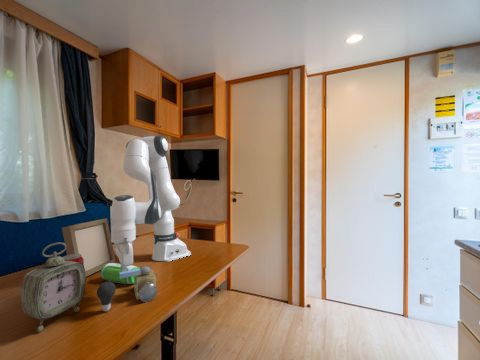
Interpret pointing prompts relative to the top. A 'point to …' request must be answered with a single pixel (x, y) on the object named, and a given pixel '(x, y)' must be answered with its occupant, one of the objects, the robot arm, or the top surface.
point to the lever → (135, 272)
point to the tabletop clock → (53, 287)
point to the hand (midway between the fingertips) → (123, 270)
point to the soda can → (74, 258)
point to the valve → (145, 286)
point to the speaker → (116, 273)
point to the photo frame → (90, 244)
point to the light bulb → (106, 294)
